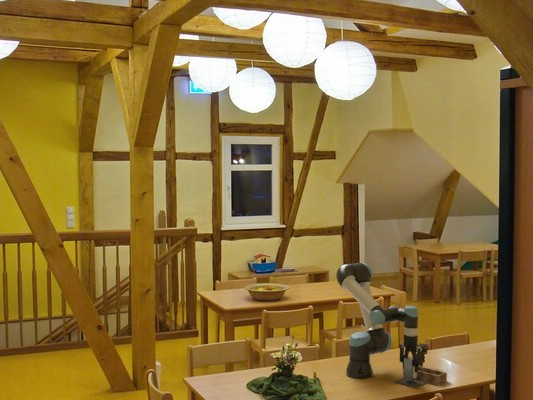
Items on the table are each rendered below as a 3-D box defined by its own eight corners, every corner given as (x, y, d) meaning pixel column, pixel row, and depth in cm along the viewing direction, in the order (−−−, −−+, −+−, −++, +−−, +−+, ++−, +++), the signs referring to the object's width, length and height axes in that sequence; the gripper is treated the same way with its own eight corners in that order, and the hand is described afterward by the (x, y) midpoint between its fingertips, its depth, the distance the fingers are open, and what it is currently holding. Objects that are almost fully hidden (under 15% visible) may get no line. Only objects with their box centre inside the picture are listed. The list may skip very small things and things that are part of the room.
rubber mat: (394, 382, 378) (394, 381, 378) (404, 378, 385) (404, 377, 385) (416, 388, 368) (416, 387, 368) (426, 383, 376) (426, 382, 376)
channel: (403, 376, 389) (403, 367, 388) (411, 372, 395) (411, 364, 395) (438, 385, 373) (438, 376, 373) (446, 381, 380) (446, 372, 380)
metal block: (403, 379, 377) (404, 358, 376) (408, 377, 380) (408, 356, 380) (411, 381, 373) (411, 359, 373) (416, 379, 377) (416, 358, 376)
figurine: (430, 367, 406) (431, 342, 405) (411, 375, 390) (412, 349, 389) (420, 364, 411) (420, 340, 410) (401, 372, 395) (401, 347, 394)
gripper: (393, 333, 379) (392, 374, 380) (421, 338, 367) (421, 381, 368) (400, 330, 384) (399, 371, 386) (428, 336, 372) (428, 378, 373)
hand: (410, 376), depth 377 cm, fingers closed on metal block, 5 cm apart
